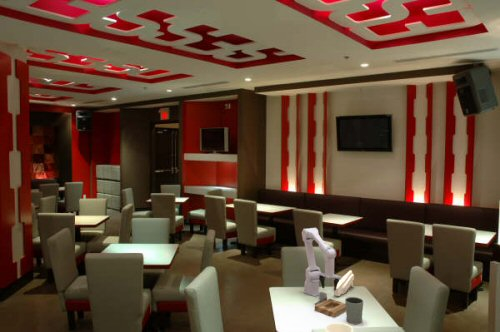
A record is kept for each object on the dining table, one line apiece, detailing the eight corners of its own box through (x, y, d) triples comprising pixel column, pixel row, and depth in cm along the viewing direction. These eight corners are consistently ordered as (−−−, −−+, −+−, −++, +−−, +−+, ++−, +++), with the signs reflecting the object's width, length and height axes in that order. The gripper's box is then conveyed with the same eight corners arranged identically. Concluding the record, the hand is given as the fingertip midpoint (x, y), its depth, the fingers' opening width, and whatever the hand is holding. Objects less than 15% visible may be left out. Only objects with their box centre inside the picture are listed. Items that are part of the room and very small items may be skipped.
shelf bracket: (355, 287, 290) (354, 271, 288) (340, 305, 271) (339, 288, 268) (348, 285, 294) (347, 269, 291) (333, 303, 275) (331, 286, 272)
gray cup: (365, 324, 233) (365, 303, 232) (348, 324, 232) (348, 303, 231) (359, 316, 243) (359, 296, 242) (342, 316, 242) (342, 296, 241)
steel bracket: (314, 305, 259) (314, 295, 258) (321, 301, 264) (321, 291, 264) (319, 306, 256) (319, 296, 256) (326, 303, 261) (326, 293, 261)
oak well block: (314, 310, 251) (314, 305, 250) (329, 303, 262) (329, 298, 262) (334, 317, 241) (334, 312, 241) (348, 309, 252) (348, 304, 252)
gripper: (316, 267, 260) (316, 288, 261) (338, 271, 253) (338, 293, 254) (320, 264, 266) (319, 285, 267) (342, 268, 259) (341, 289, 260)
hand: (329, 289), depth 261 cm, fingers open, 7 cm apart
